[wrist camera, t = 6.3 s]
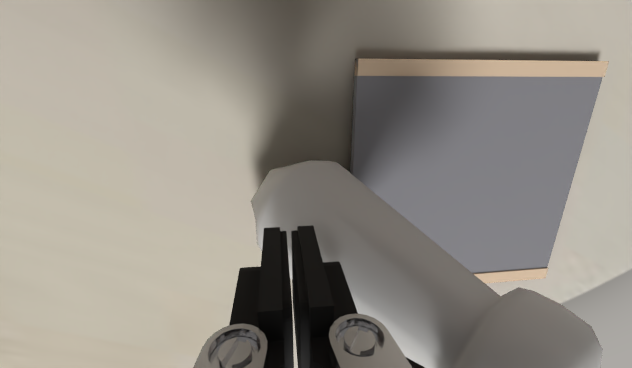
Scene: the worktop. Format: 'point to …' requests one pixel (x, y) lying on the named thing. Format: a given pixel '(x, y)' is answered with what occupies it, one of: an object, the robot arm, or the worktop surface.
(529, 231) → the mat
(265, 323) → the robot arm
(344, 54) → the worktop surface
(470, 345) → the salt shaker
